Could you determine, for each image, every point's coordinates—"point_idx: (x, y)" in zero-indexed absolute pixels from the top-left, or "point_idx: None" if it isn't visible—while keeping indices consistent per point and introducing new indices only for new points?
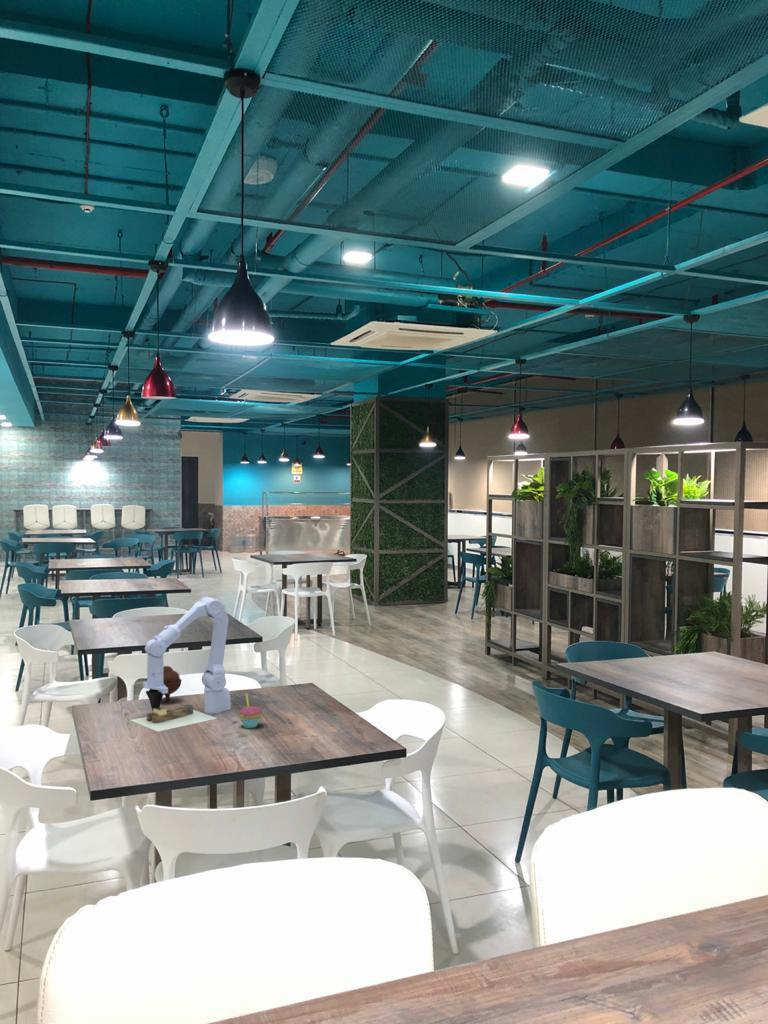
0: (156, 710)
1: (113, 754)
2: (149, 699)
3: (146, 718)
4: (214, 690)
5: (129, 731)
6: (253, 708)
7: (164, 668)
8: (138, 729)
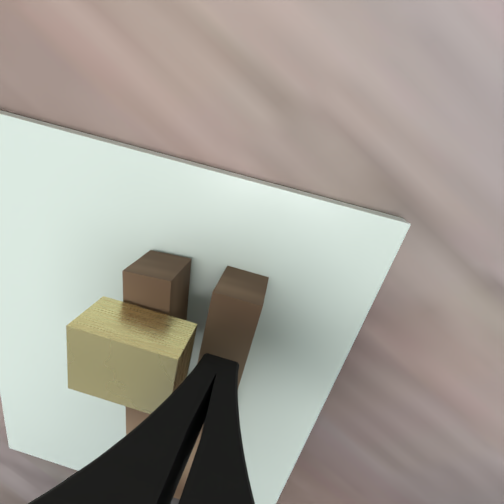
0: (125, 332)
1: None
2: (235, 465)
3: (315, 316)
4: None
5: (206, 18)
6: None
7: None
8: (193, 116)
